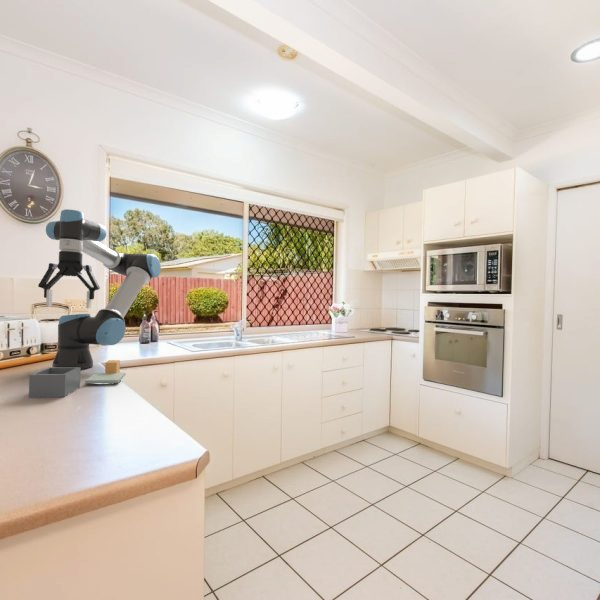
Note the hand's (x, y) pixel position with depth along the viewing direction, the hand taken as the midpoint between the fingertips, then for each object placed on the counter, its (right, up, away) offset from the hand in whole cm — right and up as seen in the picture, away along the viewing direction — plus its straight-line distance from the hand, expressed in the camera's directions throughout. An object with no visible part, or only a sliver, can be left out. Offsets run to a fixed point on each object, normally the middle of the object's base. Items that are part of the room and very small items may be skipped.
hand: (69, 307), depth 139 cm
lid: (+15, -27, 0) cm, 31 cm away
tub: (+8, -27, -20) cm, 34 cm away
